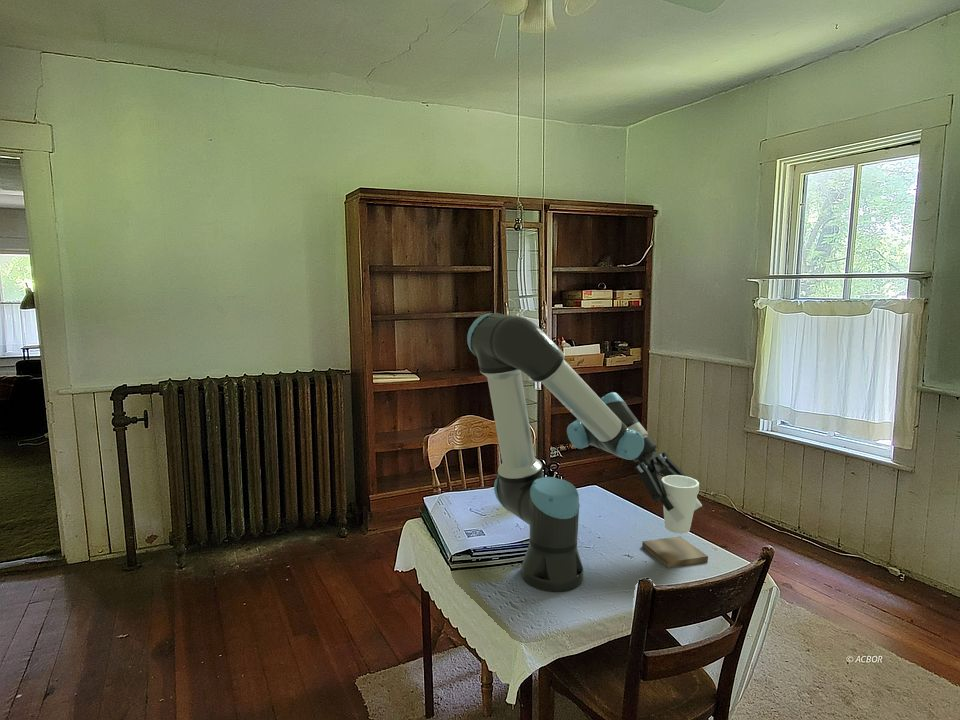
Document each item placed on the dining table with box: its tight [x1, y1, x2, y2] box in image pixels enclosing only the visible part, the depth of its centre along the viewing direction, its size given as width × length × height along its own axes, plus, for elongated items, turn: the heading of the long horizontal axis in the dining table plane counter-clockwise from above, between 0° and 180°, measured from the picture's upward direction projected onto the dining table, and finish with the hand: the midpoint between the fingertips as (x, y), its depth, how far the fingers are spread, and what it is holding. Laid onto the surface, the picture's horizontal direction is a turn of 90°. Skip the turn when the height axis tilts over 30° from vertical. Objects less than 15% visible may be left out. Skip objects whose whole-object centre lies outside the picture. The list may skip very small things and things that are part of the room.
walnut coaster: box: [641, 536, 709, 569], centre depth 160 cm, size 12×12×2 cm
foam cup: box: [661, 475, 700, 534], centre depth 158 cm, size 10×9×13 cm
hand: (689, 514), depth 156 cm, fingers closed on foam cup, 9 cm apart
